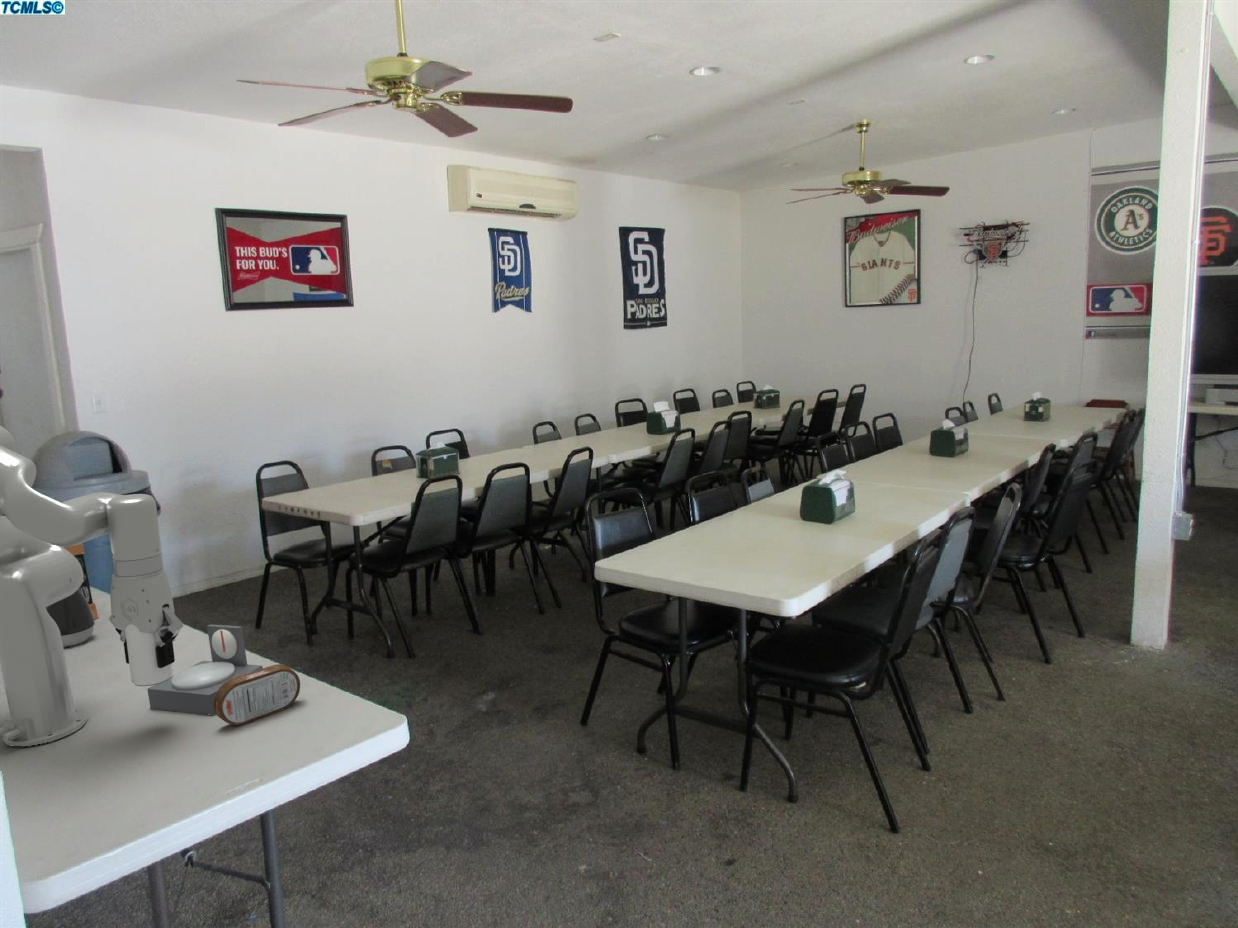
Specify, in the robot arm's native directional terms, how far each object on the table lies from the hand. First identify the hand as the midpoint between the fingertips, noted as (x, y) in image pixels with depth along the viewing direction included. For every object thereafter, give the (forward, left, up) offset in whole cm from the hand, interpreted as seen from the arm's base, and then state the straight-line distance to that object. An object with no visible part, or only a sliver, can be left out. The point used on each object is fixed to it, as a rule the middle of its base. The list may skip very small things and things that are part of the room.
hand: (150, 662), depth 152 cm
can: (0, 0, -3) cm, 3 cm away
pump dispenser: (+31, +61, -13) cm, 70 cm away
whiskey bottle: (+42, +76, -13) cm, 88 cm away
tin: (+8, -16, -13) cm, 22 cm away
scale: (+13, +2, -12) cm, 18 cm away
